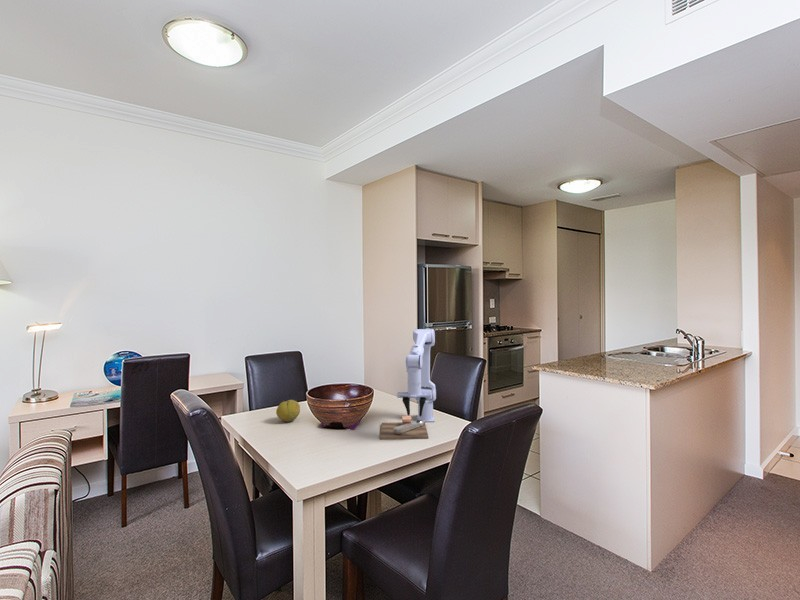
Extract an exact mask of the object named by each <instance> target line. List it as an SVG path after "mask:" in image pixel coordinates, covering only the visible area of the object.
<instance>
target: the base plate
mask: <svg viewBox="0 0 800 600" xmlns="http://www.w3.org/2000/svg"><path fill="white" fill-rule="evenodd" d="M401 425H402V421H399V422H397V421H396V422H381V426H380V428H381V429H380V440H425V439H429V433H428V430H427V426H426V422H423V425H424V426H422V427H418V428H415V429H412V430H409V431H406V432H403V433H400V434H396V433H393V428H395V427H398V426H401Z"/></svg>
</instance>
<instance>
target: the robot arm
mask: <svg viewBox="0 0 800 600" xmlns="http://www.w3.org/2000/svg"><path fill="white" fill-rule="evenodd" d="M435 337H436V333H435V329H433V328H428V329H426V328H419V329H418V328H414V329H413V332H412V340H413V342H414V344H413V345H412V346H411V348H410V351H409V354H407V355H406V357H405V366H406V367H405V368H406V373H407V391H404V392H403V391H402V392H401V391H399V392H397V395H396V396H397V397H396V398H397V399H401V398H402V403H403V405H404V407H405V410H406V415H408V416H409V415H411V407H410V406H411V405H410V402H411V399H415V401H417V415H416V419H417V418H421V420H423V422H425V423H427V422H429V423H430V422H432V423H433V422H435V418H434V402H435V401H436V399H437V389H436V384H435V383H434V382H432V380H431V350H432V349H431V348H432V347H434V346H435V343H436V338H435Z"/></svg>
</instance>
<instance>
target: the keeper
mask: <svg viewBox="0 0 800 600" xmlns="http://www.w3.org/2000/svg"><path fill="white" fill-rule="evenodd" d="M401 419H402V420H401V422H402V425H404V424H407V423H410V422H413V420H412V415H411V414H410V415H409V416H408V415H407V414H402V415H401ZM416 420H417V421H421V418H417V417H416Z"/></svg>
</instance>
